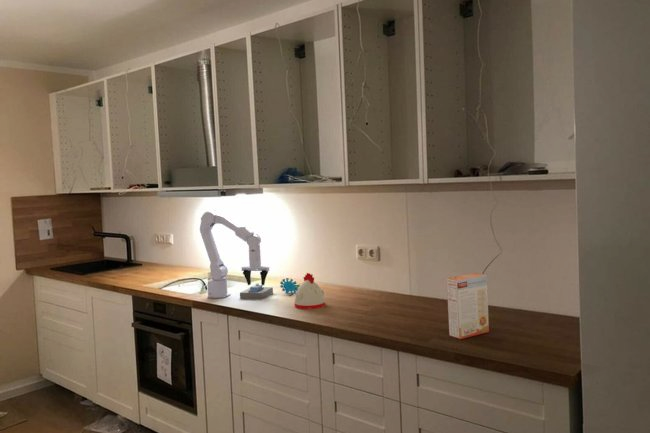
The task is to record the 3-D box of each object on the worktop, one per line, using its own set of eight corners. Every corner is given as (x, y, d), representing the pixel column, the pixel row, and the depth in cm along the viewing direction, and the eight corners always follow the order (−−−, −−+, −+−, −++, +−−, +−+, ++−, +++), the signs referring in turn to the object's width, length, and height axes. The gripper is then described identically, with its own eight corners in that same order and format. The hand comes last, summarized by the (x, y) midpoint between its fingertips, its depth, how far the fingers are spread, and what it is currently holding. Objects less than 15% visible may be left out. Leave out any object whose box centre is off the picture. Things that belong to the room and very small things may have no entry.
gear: (283, 293, 260) (278, 277, 267) (279, 299, 264) (275, 283, 270) (303, 293, 266) (298, 277, 272) (299, 299, 269) (294, 284, 276)
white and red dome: (304, 310, 229) (303, 277, 228) (289, 305, 240) (287, 273, 239) (330, 305, 236) (329, 273, 236) (314, 300, 248) (313, 269, 247)
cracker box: (477, 329, 190) (475, 272, 188) (489, 332, 184) (488, 274, 183) (447, 335, 183) (446, 277, 182) (459, 339, 178) (458, 279, 176)
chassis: (240, 298, 259) (239, 292, 259) (251, 292, 273) (251, 287, 273) (262, 299, 256) (261, 293, 256) (273, 293, 269) (272, 287, 269)
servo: (248, 297, 260) (248, 286, 260) (257, 293, 270) (256, 282, 269) (256, 298, 259) (255, 286, 258) (264, 293, 268) (263, 282, 268)
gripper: (238, 259, 261) (239, 286, 262) (265, 259, 257) (266, 286, 258) (244, 257, 268) (245, 283, 269) (270, 257, 264) (271, 284, 265)
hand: (256, 284), depth 264 cm, fingers open, 7 cm apart
